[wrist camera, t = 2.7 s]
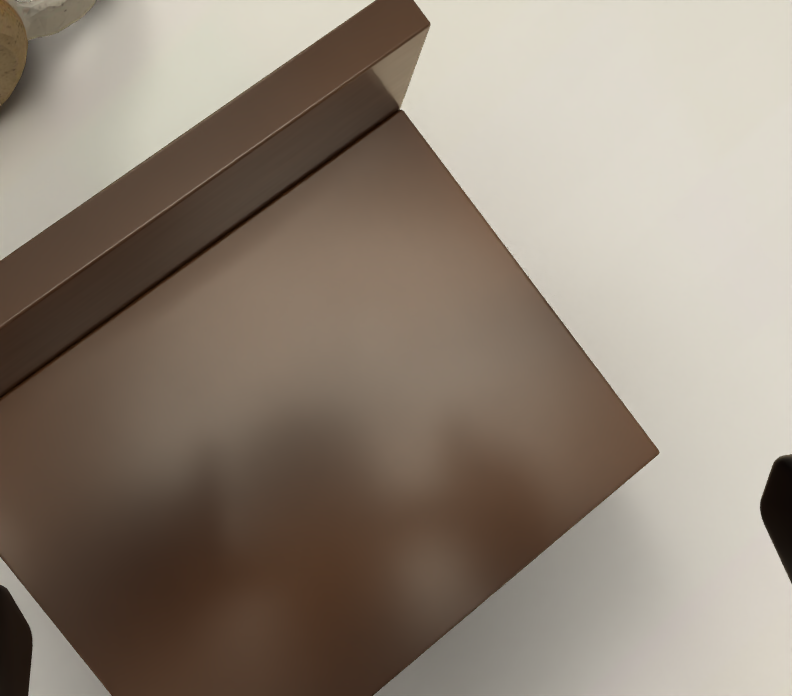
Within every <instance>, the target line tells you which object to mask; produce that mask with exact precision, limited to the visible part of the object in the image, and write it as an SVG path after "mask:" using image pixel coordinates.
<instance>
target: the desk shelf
mask: <svg viewBox="0 0 792 696" xmlns="http://www.w3.org/2000/svg"><path fill="white" fill-rule="evenodd" d="M429 28H430V22H429V21H428V19H427V18H426V17H425V15H424V14H423V12H422V11H421V10H420V8H419V7H418V6H417V4H416V3H415V2H414V0H376V1H374V2H373V3H371V4H370V5H368V6H367V7H365V8H364V9H363V10H361V11H360V12H358V13H357V14H355V15H354V16H352V17H351V18H350V19H348V20H347V21H345V22H344V23H342V24H341V25H339V26H338V27H337V28H335V29H334V30H332V31H331V32H329V33H328V34H327V35H325V36H324V37H322V38H321V39H319V40H318V41H316V42H315V43H314V44H312V45H311V46H309V47H308V48H306V49H305V50H303V51H302V52H301V53H299V54H298V55H296V56H295V57H293V58H292V59H290V60H289V61H288V62H286V63H285V64H283V65H282V66H280V67H279V68H277V69H276V70H275V71H273V72H272V73H270V74H269V75H267V76H266V77H265V78H263V79H262V80H260V81H259V82H257V83H256V84H254V85H253V86H252V87H250V88H249V89H247V90H246V91H244V92H243V93H241V94H240V95H239V96H237V97H236V98H234V99H233V100H231V101H230V102H228V103H227V104H226V105H224V106H223V107H221V108H220V109H218V110H217V111H216V112H214V113H213V114H211V115H210V116H208V117H207V118H205V119H204V120H203V121H201V122H200V123H198V124H197V125H195V126H194V127H192V128H191V129H190V130H188V131H187V132H185V133H184V134H182V135H181V136H179V137H178V138H177V139H175V140H174V141H172V142H171V143H169V144H168V145H167V146H165V147H164V148H162V149H161V150H159V151H158V152H156V153H155V154H154V155H152V156H151V157H149V158H148V159H146V160H145V161H143V162H142V163H141V164H139V165H138V166H136V167H135V168H133V169H132V170H130V171H129V172H128V173H126V174H125V175H123V176H122V177H120V178H119V179H118V180H116V181H115V182H113V183H112V184H110V185H109V186H107V187H106V188H105V189H103V190H102V191H100V192H99V193H97V194H96V195H94V196H93V197H92V198H90V199H89V200H87V201H86V202H84V203H83V204H81V205H80V206H79V207H77V208H76V209H74V210H73V211H71V212H70V213H69V214H67V215H66V216H64V217H63V218H61V219H60V220H58V221H57V222H56V223H54V224H53V225H51V226H50V227H48V228H47V229H45V230H44V231H43V232H41V233H40V234H38V235H37V236H35V237H34V238H32V239H31V240H30V241H28V242H27V243H25V244H24V245H22V246H21V247H20V248H18V249H17V250H15V251H14V252H12V253H11V254H9V255H8V256H7V257H5V258H4V259H2V260H1V261H0V557H1V558H2V559H3V561H4V562H5V563H6V564H7V566H8V567H9V568H10V569H11V571H12V572H13V573H14V574H15V576H16V577H17V578H18V579H19V581H20V582H21V583H22V584H23V586H24V587H25V588H26V589H27V591H28V592H29V593H30V594H31V596H32V597H33V598H34V599H35V601H36V602H37V603H38V604H39V605H40V607H41V608H42V609H43V610H44V612H45V613H46V614H47V615H48V617H49V618H50V619H51V620H52V622H53V623H54V624H55V625H56V627H57V628H58V629H59V630H60V632H61V633H62V634H63V635H64V637H65V638H66V639H67V640H68V642H69V643H70V644H71V645H72V647H73V648H74V649H75V650H76V652H77V653H78V654H79V655H80V657H81V658H82V659H83V660H84V662H85V663H86V664H87V665H88V667H89V668H90V669H91V670H92V672H93V673H94V674H95V675H96V677H97V678H98V679H99V680H100V682H101V683H102V684H103V685H104V687H105V688H106V689H107V690H108V692H109V693H110V694H111V695H112V696H373V695H374V694H375V693H376V692H378V691H379V690H380V689H381V688H382V687H384V686H385V685H386V684H387V683H388V682H389V681H391V680H392V679H393V678H394V677H395V676H397V675H398V674H399V673H400V672H401V671H403V670H404V669H405V668H406V667H407V666H408V665H410V664H411V663H412V662H413V661H414V660H416V659H417V658H418V657H419V656H420V655H421V654H423V653H424V652H425V651H426V650H427V649H429V648H430V647H431V646H432V645H433V644H434V643H436V642H437V641H438V640H439V639H440V638H442V637H443V636H444V635H445V634H446V633H448V632H449V631H450V630H451V629H452V628H453V627H455V626H456V625H457V624H458V623H459V622H461V621H462V620H463V619H464V618H465V617H466V616H468V615H469V614H470V613H471V612H472V611H474V610H475V609H476V608H477V607H478V606H479V605H481V604H482V603H483V602H484V601H485V600H487V599H488V598H489V597H490V596H491V595H493V594H494V593H495V592H496V591H497V590H498V589H500V588H501V587H502V586H503V585H504V584H506V583H507V582H508V581H509V580H510V579H511V578H513V577H514V576H515V575H516V574H517V573H519V572H520V571H521V570H522V569H523V568H524V567H526V566H527V565H528V564H529V563H530V562H532V561H533V560H534V559H535V558H536V557H538V556H539V555H540V554H541V553H542V552H543V551H545V550H546V549H547V548H548V547H549V546H551V545H552V544H553V543H554V542H555V541H556V540H558V539H559V538H560V537H561V536H562V535H564V534H565V533H566V532H567V531H568V530H569V529H571V528H572V527H573V526H574V525H575V524H577V523H578V522H579V521H580V520H581V519H583V518H584V517H585V516H586V515H587V514H588V513H590V512H591V511H592V510H593V509H594V508H596V507H597V506H598V505H599V504H600V503H601V502H603V501H604V500H605V499H606V498H607V497H609V496H610V495H611V494H612V493H613V492H614V491H616V490H617V489H618V488H619V487H620V486H622V485H623V484H624V483H625V482H626V481H628V480H629V479H630V478H631V477H632V476H633V475H635V474H636V473H637V472H638V471H639V470H641V469H642V468H643V467H644V466H645V465H646V464H648V463H649V462H650V461H651V460H652V459H654V458H655V457H656V456H657V455H658V454H659V450H658V449H657V447H656V446H655V445H654V443H653V442H652V441H651V439H650V438H649V437H648V435H647V434H646V433H645V431H644V430H643V429H642V428H641V426H640V425H639V424H638V422H637V421H636V420H635V418H634V417H633V416H632V414H631V413H630V412H629V410H628V409H627V408H626V406H625V405H624V404H623V402H622V401H621V400H620V398H619V397H618V396H617V394H616V393H615V392H614V390H613V389H612V388H611V386H610V385H609V384H608V382H607V381H606V380H605V378H604V377H603V376H602V374H601V373H600V372H599V370H598V369H597V368H596V366H595V365H594V364H593V362H592V361H591V360H590V358H589V357H588V356H587V354H586V353H585V352H584V350H583V349H582V348H581V346H580V345H579V344H578V342H577V341H576V340H575V338H574V337H573V336H572V334H571V333H570V332H569V330H568V329H567V328H566V326H565V325H564V324H563V322H562V321H561V320H560V318H559V317H558V316H557V315H556V313H555V312H554V311H553V309H552V308H551V307H550V305H549V304H548V303H547V301H546V300H545V299H544V297H543V296H542V295H541V293H540V292H539V291H538V289H537V288H536V287H535V285H534V284H533V283H532V281H531V280H530V279H529V277H528V276H527V275H526V273H525V272H524V271H523V269H522V268H521V267H520V265H519V264H518V263H517V261H516V260H515V259H514V257H513V256H512V255H511V253H510V252H509V251H508V249H507V248H506V247H505V245H504V244H503V243H502V241H501V240H500V239H499V237H498V236H497V235H496V233H495V232H494V231H493V229H492V228H491V227H490V225H489V224H488V223H487V221H486V220H485V219H484V217H483V216H482V215H481V213H480V212H479V211H478V209H477V208H476V207H475V206H474V204H473V203H472V202H471V200H470V199H469V198H468V196H467V195H466V194H465V192H464V191H463V190H462V188H461V187H460V186H459V184H458V183H457V182H456V180H455V179H454V178H453V176H452V175H451V174H450V172H449V171H448V170H447V168H446V167H445V166H444V164H443V163H442V162H441V160H440V159H439V158H438V156H437V155H436V154H435V152H434V151H433V150H432V148H431V147H430V146H429V144H428V143H427V142H426V140H425V139H424V138H423V136H422V135H421V134H420V132H419V131H418V130H417V128H416V127H415V126H414V124H413V123H412V122H411V120H410V119H409V118H408V116H407V115H406V114H405V112H404V111H403V110H400V107H401V105H402V102H403V99H404V97H405V94H406V91H407V88H408V86H409V83H410V80H411V77H412V75H413V72H414V69H415V66H416V64H417V61H418V58H419V55H420V53H421V50H422V47H423V44H424V42H425V39H426V36H427V33H428V31H429Z"/></svg>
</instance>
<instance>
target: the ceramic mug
mask: <svg viewBox="0 0 792 696" xmlns="http://www.w3.org/2000/svg"><path fill="white" fill-rule="evenodd" d="M95 2H96V0H32V1H30V2H18V1H17V0H0V106H1V105H2V104H3V103H4V102H5V101H6V100H7V99H8V98H9V96H10V95H11V93H12V92H13V90H14V88H15V87H16V85H17V83H18V81H19V80H20V78H21V75H22V72H23V70H24V67H25V63H26V56H27V49H28V40H31V39H34V38H40V37H44V36H50V35H53V34H56V33H59V32H60V31H62V30H63V29H65V28H67V27H68V26H70V25H71V24H73V23H74V22H76V21H78V20H79V19H81V18H82V17H83V16H84V15H85V14H86V13H87V12H88V11H89V10H90V9H91V8H92V7H93V5H94V4H95Z"/></svg>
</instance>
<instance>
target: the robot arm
mask: <svg viewBox="0 0 792 696" xmlns="http://www.w3.org/2000/svg"><path fill="white" fill-rule="evenodd" d="M760 511H761V516H762V520H763V522H764V525H765V527H766V529H767V531H768V533H769V536H770V538H771V540H772V542H773V544H774V546H775V549H776V551H777V553H778V555H779V557H780V559H781V561H782V564H783V566H784V568H785V570H786V572H787V574H788V577H789V579H790V581H791V583H792V454H790V455H784V456H781V457H779V458H778V459H776V460H775V462H774V463H773V466H772V469H771V472H770V474H769V477H768V480H767V483H766V486H765V489H764V492H763V495H762V498H761V502H760ZM32 646H33V644H32V634H31V630H30V627H29V625H28V623H27V621H26V620H25V618H24V616H23V614H22V613H21V611H20V609H19V608H18V606H17V604H16V603H15V601H14V599H13V597H12V596H11V594H10V592H9V591H8V590H7V588H5V587H4V586H2V585H0V696H28V691H29V680H30V669H31V659H32Z"/></svg>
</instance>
